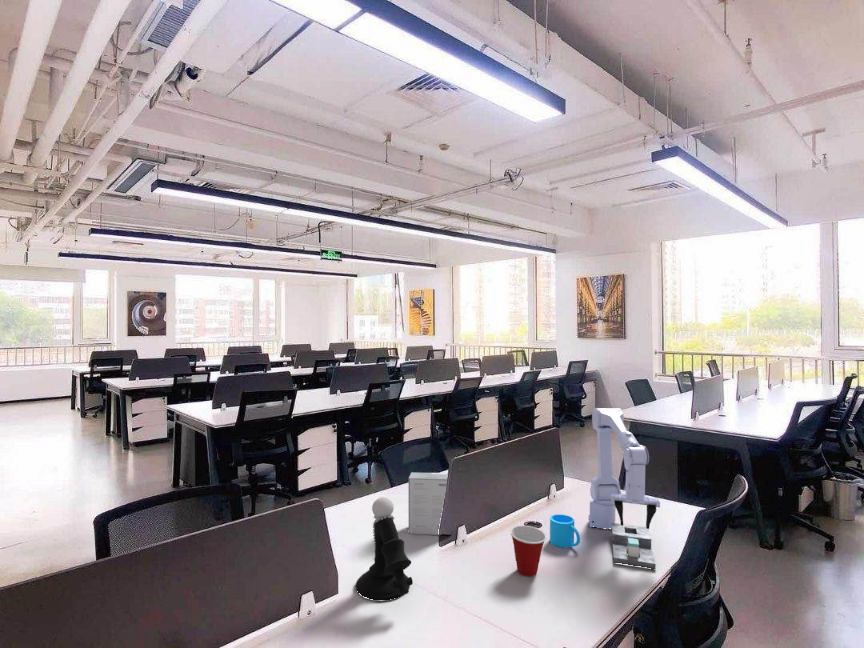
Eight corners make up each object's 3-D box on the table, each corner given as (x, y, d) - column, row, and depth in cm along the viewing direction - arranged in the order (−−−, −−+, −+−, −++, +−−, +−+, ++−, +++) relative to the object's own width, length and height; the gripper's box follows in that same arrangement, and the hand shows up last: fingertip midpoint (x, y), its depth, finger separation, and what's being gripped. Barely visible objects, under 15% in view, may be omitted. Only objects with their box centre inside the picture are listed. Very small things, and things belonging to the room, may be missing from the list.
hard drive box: (452, 527, 182) (453, 473, 181) (451, 536, 174) (452, 479, 174) (410, 525, 183) (411, 471, 183) (407, 534, 176) (408, 477, 175)
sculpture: (397, 568, 151) (398, 486, 151) (432, 609, 130) (433, 514, 130) (349, 580, 144) (349, 494, 144) (378, 624, 123) (379, 524, 123)
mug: (544, 540, 172) (544, 517, 172) (561, 535, 176) (561, 512, 176) (570, 554, 162) (571, 529, 161) (588, 549, 166) (588, 524, 166)
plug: (628, 561, 157) (628, 543, 157) (627, 556, 161) (627, 537, 161) (638, 563, 156) (638, 544, 156) (637, 557, 160) (637, 539, 160)
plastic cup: (534, 585, 142) (535, 543, 142) (502, 572, 149) (503, 532, 149) (552, 571, 151) (553, 531, 150) (521, 559, 158) (521, 522, 158)
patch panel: (613, 563, 156) (614, 549, 156) (611, 535, 176) (611, 522, 176) (655, 570, 152) (655, 555, 152) (647, 540, 173) (648, 527, 173)
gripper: (611, 485, 158) (611, 527, 158) (661, 490, 153) (660, 534, 154) (611, 478, 165) (610, 519, 165) (658, 483, 160) (658, 525, 160)
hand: (634, 526), depth 160 cm, fingers open, 7 cm apart
